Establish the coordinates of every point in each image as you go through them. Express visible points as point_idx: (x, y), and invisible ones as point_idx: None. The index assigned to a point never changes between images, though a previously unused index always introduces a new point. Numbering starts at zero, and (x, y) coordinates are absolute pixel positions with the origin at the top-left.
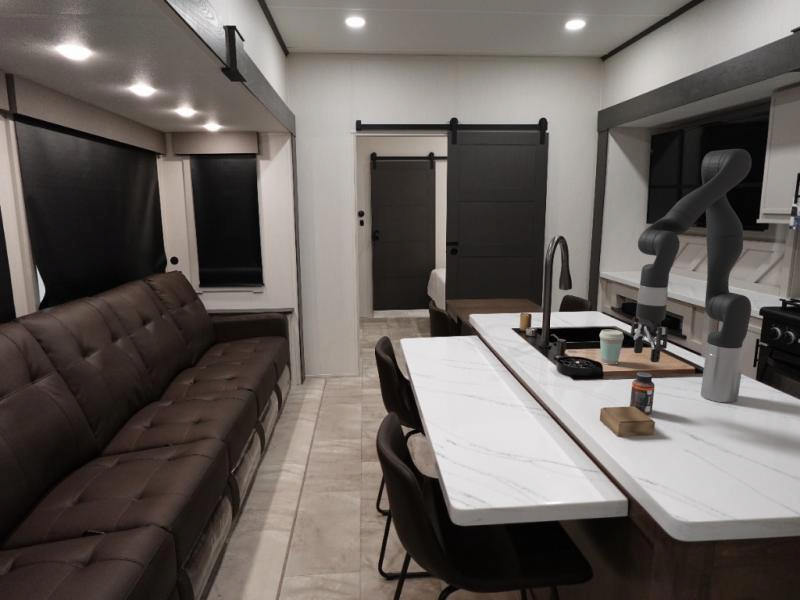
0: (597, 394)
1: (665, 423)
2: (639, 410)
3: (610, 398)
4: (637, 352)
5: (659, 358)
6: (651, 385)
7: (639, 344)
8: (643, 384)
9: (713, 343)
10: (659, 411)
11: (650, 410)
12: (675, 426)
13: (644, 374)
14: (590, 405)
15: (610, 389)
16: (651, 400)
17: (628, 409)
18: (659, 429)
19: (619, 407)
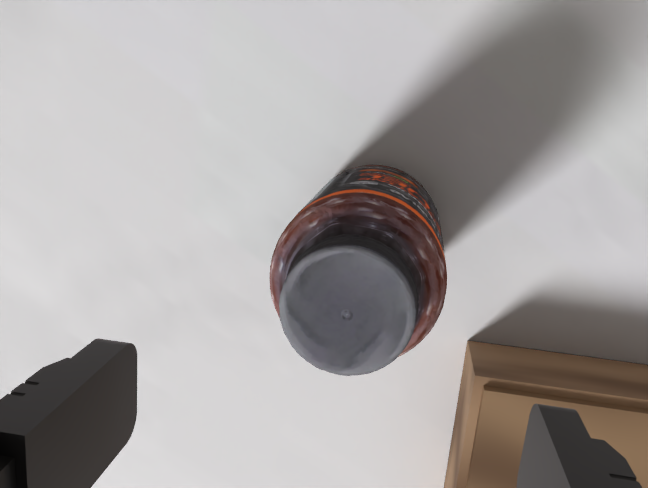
0: (93, 314)
1: (574, 196)
2: (556, 404)
3: (159, 277)
4: (132, 406)
5: (630, 468)
6: (438, 270)
7: (64, 459)
8: (417, 336)
9: None
10: (400, 105)
11: (436, 209)
12: (632, 164)
13: (347, 313)
14: (243, 445)
15: (19, 186)
16: (438, 226)
17: (520, 455)
18: (637, 290)
19: (477, 486)
